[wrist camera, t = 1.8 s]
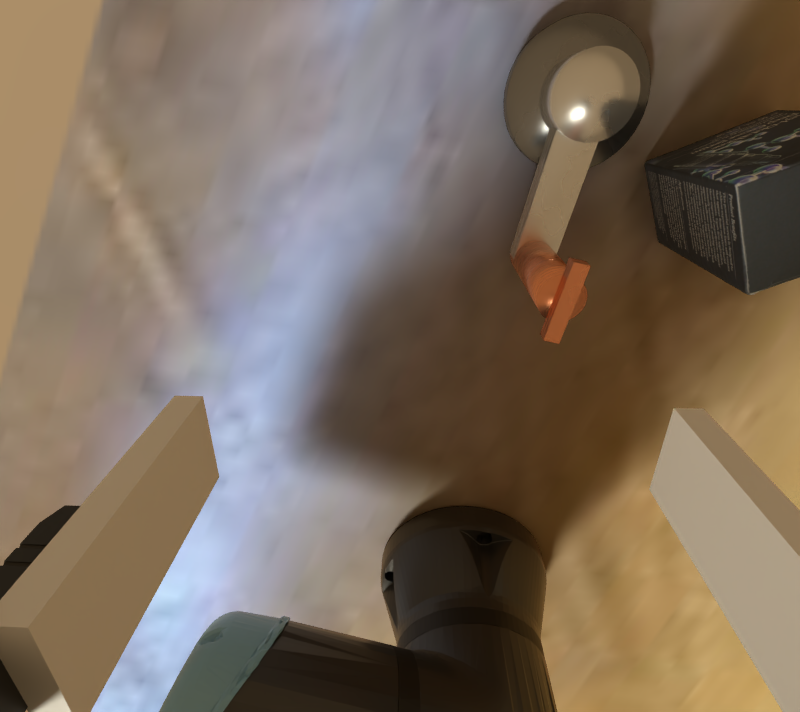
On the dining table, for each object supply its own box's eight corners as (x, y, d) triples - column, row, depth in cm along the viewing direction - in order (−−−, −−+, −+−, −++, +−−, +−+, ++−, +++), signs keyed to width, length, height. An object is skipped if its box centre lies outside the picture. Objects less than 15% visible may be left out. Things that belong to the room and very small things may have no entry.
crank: (555, 42, 27) (620, 11, 18) (632, 62, 27) (732, 41, 18) (484, 272, 33) (507, 332, 24) (548, 286, 33) (594, 351, 24)
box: (776, 107, 29) (946, 107, 20) (782, 199, 31) (937, 239, 22) (640, 160, 31) (736, 184, 21) (655, 244, 33) (749, 300, 24)
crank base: (661, 120, 30) (670, 120, 29) (539, 194, 32) (543, 197, 31) (610, -18, 27) (618, -23, 26) (479, 74, 29) (481, 73, 28)
